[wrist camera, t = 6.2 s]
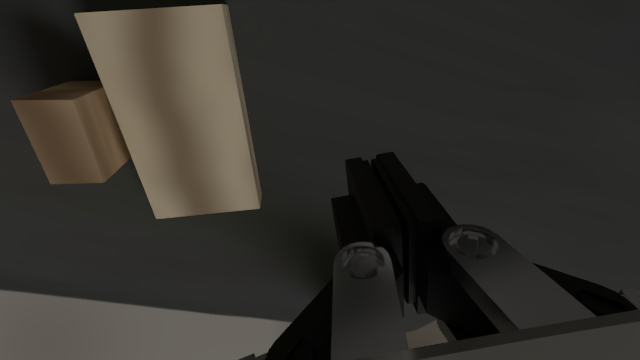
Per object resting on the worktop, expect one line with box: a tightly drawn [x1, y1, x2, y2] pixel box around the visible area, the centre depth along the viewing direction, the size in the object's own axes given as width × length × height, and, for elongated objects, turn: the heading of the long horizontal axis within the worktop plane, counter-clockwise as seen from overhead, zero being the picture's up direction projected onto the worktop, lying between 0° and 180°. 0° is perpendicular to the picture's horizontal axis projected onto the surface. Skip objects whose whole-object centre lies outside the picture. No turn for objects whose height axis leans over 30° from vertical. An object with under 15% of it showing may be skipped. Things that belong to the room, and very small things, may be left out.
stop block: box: [11, 81, 131, 184], centre depth 19 cm, size 3×5×5 cm, turn 179°
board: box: [74, 4, 262, 219], centre depth 21 cm, size 8×14×2 cm, turn 3°
